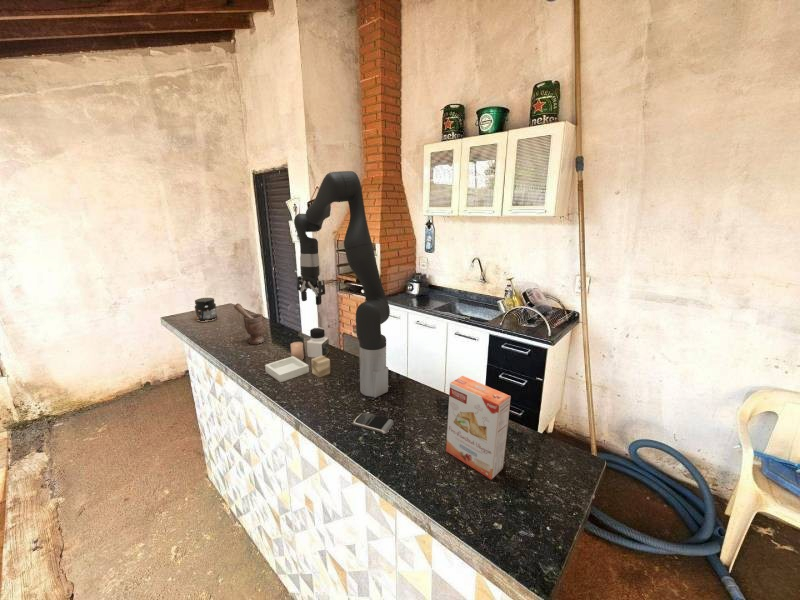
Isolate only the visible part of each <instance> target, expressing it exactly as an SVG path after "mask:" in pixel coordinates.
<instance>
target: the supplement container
mask: <svg viewBox="0 0 800 600" xmlns="http://www.w3.org/2000/svg"><path fill="white" fill-rule="evenodd" d="M194 304H195V305H194V310H195V311H194V312H195V316H196V319H195V320H196V321H197V320H200V321H205V320H212V319H215V318H217V319H218V314H217V313H218V312H217V304H216V303H215V298H213V297H201V298H197V299H195V300H194Z"/></svg>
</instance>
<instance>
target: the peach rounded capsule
mask: <svg viewBox="0 0 800 600" xmlns="http://www.w3.org/2000/svg"><path fill="white" fill-rule="evenodd" d="M304 354H305V353H304V343H303V342H302V341H294V342H292V343H290V355H291V356H290V357H292V356H294V357H295V358H297V359H299V360H301V361H302V362H303V361H304V360H303V359H304V358H305V355H304Z"/></svg>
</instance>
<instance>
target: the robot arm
mask: <svg viewBox="0 0 800 600" xmlns="http://www.w3.org/2000/svg"><path fill="white" fill-rule="evenodd" d="M343 202H347V203H348V207H349V220H348V221H349V222H348V226H347V229H346V231H345V235H344V239H343V240H344V241H343V248H344V252H345V257H346V260H347V263H348V266H349V267H350V269H351V271H352V272H353V275H355V277H356V278H357V279H358V281H359V283H360V284H361V286H362V289H363V293H364V298H365V301H363V302H362V303H360V304H359V305H358V306H357V308H356V311H355V329H356V338H357V339H358V342H359V343H358V344H359V347H358V348H359V383H360V384H359V388H360V389H359V391H360V393H361V394H362V395H364V396H367V397H372V398H375V399H376V398H378V397H380V396H382V395H384V394H385V393H388V392H389V367H388V366H387V338H386V336H385V335H384V334H382V330H381V329H382V328H381V327H382V326H381V325H382V324H384V323H385V322H386V321H388V319H389V318H390V314H391V310H390V309H391V308H390V305H389V301H388V298H387V295H386V293H385V291H384V286H383V284H382V281H381V276H380V272H379V268H378V264H377V261H376V255H375V251H374V246H373V241H372V238H371V235H370V234H371V233H370V231H369V226H368V220H367V217H366V215H367V214H366V210H365V204H364V202H365V201H364V196H363V188H362V184H361V181H360V178H359V176H358V174H357V173H356V171H352V170H342V171H341V170H340V171H330V172H327V174H326V175H324V177H323V179H322V181H321V184H320V186H319V188H318V191H317V193H316V196H315V198H314V200H313V202H312V203H311V204H310V205H309V207H308V208H307V209H306V210H305V213H298V214H296V215H295V217H294V220H293V225H294V228H295V230H296V231H295V232H296V234H297V237H298V240H299V248H300V249H299V250H300V251H299V253H300V256H299V260H300V265H299V266H300V267H299V268H300V275H299V276H297V277H296V289H297V291H299V292H300V295H301V296H300V297H301V298H300V299H301V302H306V301H308V295H307V293H308V292H307V291H308V289H309V290H311V291H312V293H314V295H315V305H316V306H319V305H321V304H322V296H324V295H326V286H325V285H326V284H325V280H324V279H322V280H321V279H319V276H320V273H321V272H320V255H319V241H318V239H316V238H315V237H314V238H313V237H309V236H308V235H307V233H316V232H320V231H321V230H322V228H323V223H324V221H325V220H326V219H327V218H328V217H329V215H330V213H331V209H332V207H331V204H332V203H343Z"/></svg>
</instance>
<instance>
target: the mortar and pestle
mask: <svg viewBox="0 0 800 600" xmlns="http://www.w3.org/2000/svg"><path fill="white" fill-rule="evenodd" d="M233 309H235V310H236V311H237V312H238V313H239V314H240V315H242V316H243V322H244V328H245V331H246V333H247V334H248V335H250V337H249V338H248V341H247V343H248V344H249V343H250V344H249V345H251V344H255V345H260V344H259V343H261V344H262V342H263V343H264V341H265V342H266V340H265V338H264V336H262V333H263V331H264V325H265V320H264V314H262V313H252V314H251V313H250V314H249V313H248V312H247V311H246V308H244V307H243V306H242V305H241V304H240V303H236V304H234V306H233Z"/></svg>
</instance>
